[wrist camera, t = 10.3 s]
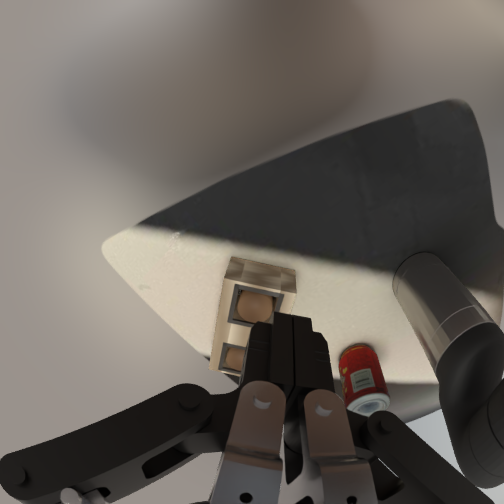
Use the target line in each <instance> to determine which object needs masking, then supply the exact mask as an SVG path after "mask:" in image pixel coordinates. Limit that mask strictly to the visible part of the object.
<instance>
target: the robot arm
mask: <svg viewBox="0 0 504 504" xmlns="http://www.w3.org/2000/svg"><path fill="white" fill-rule="evenodd" d="M393 291H394V294H395V296H396V298H397V300H398V302H399V303H400V305H401V307H402V309H403V311H404V313H405V315H406V316H407V318H408V320H409V322H410V324H411V326H412V328H413V330H414V332H415V334H416V336H417V337H418V339H419V341H420V343H421V345H422V347H423V350H424V352H425V354H426V356H427V358H428V360H429V362H430V364H431V366H432V368H433V370H434V373H435V375H436V377H437V379H438V382H439V385H440V386H439V400H440V405H441V409H442V412H443V415H444V418H445V421H446V425H447V429H448V432H449V436H450V439H451V443H452V446H453V450H454V454H455V457H456V460H457V462H458V465H459V467H460V469H461V471H462V473H463V474H464V475H465V477H464V476H463V475H462V474H461V473H460V472H459V471H457V470H456V469H455V468H454V467H453V466H451V464H449V463H448V462H447V461H446V460H445V459H444V458H443V457H441V456H440V455H439V454H438V453H437V452H436V451H435V450H434V449H432V448H431V447H430V446H429V445H428V444H426V442H425V441H423V440H422V439H421V438H420V437H419V436H418V435H417V434H416V433H415V432H413V431H412V430H411V429H410V428H409V427H408V426H407V425H406V424H405V423H404V422H402V421H401V420H400V419H399V418H398V417H397V416H396V415H394V414H393V413H391V412H389V411H384V410H380V411H376V412H374V413H372V414H371V415H370V416H369V417H367V416H364V415H361V414H358V413H355V412H353V411H350V410H348V409H347V408H345V405H344V402H343V401H342V399H341V398H340V397H339V396H338V395H337V394H335V389H334V382H333V375H332V369H331V363H330V356H329V350H328V344H327V341H326V340H325V338H324V337H323V335H322V334H321V333H319V332H313V330H312V321H311V318H307V317H302V316H297V315H291V314H286V313H281V312H276V311H273V312H272V315H271V318H270V321H269V323H265V322H260V321H257V322H256V323H255V325H254V326H253V327H252V328H251V330H250V334H249V338H248V341H247V345H246V349H245V353H244V357H243V363H242V369H241V375H240V381H239V387H238V388H237V389H236V390H234V391H232V392H230V393H226V394H217V395H216V394H215V395H210V394H209V392H208V391H207V390H205V389H204V388H202V387H200V386H198V385H195V384H188V383H185V384H179V385H176V386H174V387H172V388H170V389H168V390H166V391H164V392H162V393H160V394H158V395H156V396H154V397H151V398H149V399H147V400H145V401H143V402H141V403H139V404H137V405H134V406H132V407H130V408H128V409H126V410H124V411H122V412H119V413H117V414H114V415H112V416H110V417H108V418H105V419H103V420H101V421H98V422H96V423H93V424H91V425H88V426H86V427H83V428H81V429H78V430H76V431H73V432H71V433H68V434H65V435H63V436H60V437H57V438H55V439H52V440H49V441H46V442H43V443H40V444H37V445H34V446H31V447H28V448H25V449H22V450H19V451H15V452H12V453H9V454H6V455H5V456H3V458H1V460H0V484H1V486H2V487H3V489H4V490H5V491H6V492H7V493H8V494H9V495H10V496H12V497H14V498H15V499H17V500H19V501H20V502H21V503H23V504H110V503H112V502H115V501H117V500H119V499H121V498H123V497H125V496H127V495H130V494H132V493H133V492H136V491H138V490H139V489H141V488H144V487H145V486H147V485H149V484H151V483H153V482H155V481H157V480H159V479H160V478H162V477H164V476H166V475H168V474H169V473H171V472H172V471H174V470H176V469H178V468H179V467H181V466H183V465H185V464H186V463H188V462H189V461H191V460H193V459H194V458H196V457H198V456H199V455H200V454H202V453H211V452H222V455H221V459H220V462H219V466H218V469H217V473H216V476H215V479H214V483H213V486H212V489H211V492H210V495H209V499H208V501H203V502H196V503H191V504H494V502H493V501H492V500H491V499H490V498H489V497H488V496H486V495H485V494H484V493H483V492H482V491H481V490H479V489H478V488H477V487H480V488H485V489H487V488H493V487H496V486H498V485H500V484H502V483H504V378H503V379H502V375H503V371H504V333H503V332H502V330H501V329H500V328H499V327H498V325H497V324H496V323H495V321H494V320H493V319H492V318H491V316H490V315H489V314H488V313H487V311H486V310H485V309H484V308H483V307H482V306H481V304H480V303H479V302H478V301H477V300H476V298H475V297H474V296H473V295H472V294H471V293H470V292H469V290H468V289H467V288H466V287H465V286H464V285H463V284H462V283H461V281H460V280H459V279H458V278H457V277H456V276H455V275H454V274H453V273H452V272H451V271H450V269H449V268H448V267H447V266H446V265H445V264H444V263H443V262H442V261H441V260H440V259H439V258H438V257H437V256H436V255H434V254H432V253H427V252H423V253H418V254H415V255H413V256H411V257H410V258H408V259H407V260H406V261H404V262H403V263H402V265H401V266H400V267H399V268H398V270H397V272H396V274H395V277H394V280H393ZM283 424H284V433H283V435H282V432H283ZM378 458H379V459H380V460H381V461H382V462H383V463H384V464H385V465H386V466H387V467H388V468H390V469H391V470H392V471H393V472H394V473H395V474H396V475H397V476H398V477H397V476H395V475H394V474H393V473H392V472H391V471H390V470H389V469H388V468H387V467H386V466H385V465H384V464H383V463H382V462H381V461H380V460H379V459H378ZM280 486H281V489H280ZM476 486H477V487H476Z"/></svg>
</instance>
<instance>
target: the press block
mask: <svg viewBox="0 0 504 504" xmlns="http://www.w3.org/2000/svg"><path fill="white" fill-rule="evenodd" d="M239 289H242V290H246V291H251V292H255V293H260V294H265V295H269V296H273V303H272V312H273V311H276V312H281V313H286V314H290V312H291V309H292V306H293V303H294V300H295V297H296V294H297V292H296V279H295V270H290V269H285V268H281V267H276V266H272V265H267V264H263V263H258V262H253V261H249V260H244V259H240V258H235V257H231V260H230V262H229V265H228V268H227V271H226V274H225V277H224V281H223V286H222V292H221V298H220V304H219V310H218V316H217V322H216V328H215V334H214V340H213V346H212V352H211V358H210V365H209V369H210V370H215V371H219V372H223V373H228V374H232V375H237V376H240V375H241V371H238V370H235V369H233V368H231V367H230V366H229V365H228V364H227V362H226V357H227V353H228V349H229V347H232V348H237V349H242V350H245V349H246V345H247V341H248V338H249V334H250V330H251V328H252V327H253V326H254V325H255V323H253V322H249V321H246V320H245V319H243V318H242V317H241V316H240V315H239V313H238V309H237V307H238V302H239V297H240V295H238V294H239ZM271 315H272V313H271ZM271 315H270V317H269V318H268V319H266V320H265V321H263V322H265V323H269V321H270V318H271Z"/></svg>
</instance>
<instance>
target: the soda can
mask: <svg viewBox="0 0 504 504" xmlns="http://www.w3.org/2000/svg"><path fill="white" fill-rule="evenodd" d="M339 373H340V379H341V385H342V391H343V397H344V404H345V408H347V409H348V410H350V411H353V412H355V413H358V414H361V415H364V416H367V417H369V416H370V415H371V414H372V413H374V412H376V411H380V410H385V409H386V408H387V407H388V406H389V403H390V396H389V393H388V390H387V386H386V383H385V380H384V376H383V373H382V370H381V367H380V363H379V360H378V357H377V354H376V353H375V352H374V351H373V350H371V349H370V347H368V346H366V345H362V344H359V345H354V346H351V347H349V348H348V349H346V350H345V351H344V352H343V354H342V356H341V360H340V362H339Z"/></svg>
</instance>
